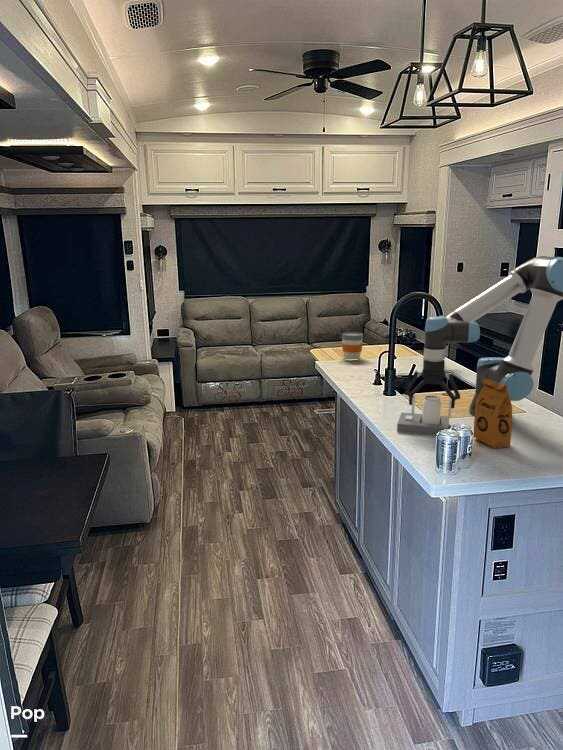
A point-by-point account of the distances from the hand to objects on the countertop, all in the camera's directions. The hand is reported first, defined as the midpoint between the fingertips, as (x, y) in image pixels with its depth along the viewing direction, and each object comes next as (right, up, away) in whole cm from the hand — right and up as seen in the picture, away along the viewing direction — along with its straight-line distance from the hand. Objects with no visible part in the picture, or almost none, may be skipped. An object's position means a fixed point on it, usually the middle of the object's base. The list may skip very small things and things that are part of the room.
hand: (430, 414), depth 209 cm
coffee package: (+18, -9, -13) cm, 24 cm away
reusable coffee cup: (-15, +24, +117) cm, 121 cm away
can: (0, -5, +1) cm, 5 cm away
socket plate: (-2, -5, +2) cm, 6 cm away
